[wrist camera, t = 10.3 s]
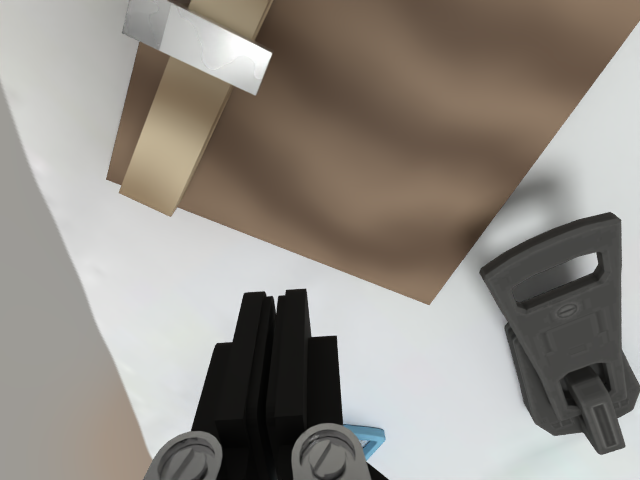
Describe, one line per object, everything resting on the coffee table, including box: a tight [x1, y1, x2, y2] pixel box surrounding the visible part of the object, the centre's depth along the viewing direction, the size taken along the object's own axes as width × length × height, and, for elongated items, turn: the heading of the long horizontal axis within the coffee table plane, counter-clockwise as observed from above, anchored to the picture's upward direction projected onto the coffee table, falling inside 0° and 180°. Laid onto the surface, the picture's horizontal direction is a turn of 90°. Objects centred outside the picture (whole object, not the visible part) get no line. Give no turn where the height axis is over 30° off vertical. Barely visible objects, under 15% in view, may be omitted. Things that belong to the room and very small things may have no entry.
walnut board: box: [106, 0, 640, 305], centre depth 25 cm, size 22×24×2 cm
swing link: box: [119, 0, 273, 217], centre depth 21 cm, size 18×4×2 cm, turn 150°
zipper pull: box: [479, 212, 640, 455], centre depth 31 cm, size 9×7×25 cm
